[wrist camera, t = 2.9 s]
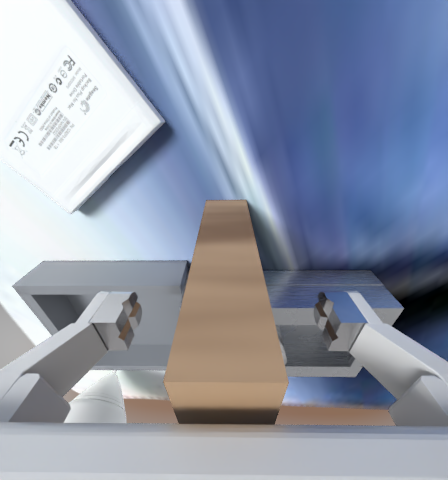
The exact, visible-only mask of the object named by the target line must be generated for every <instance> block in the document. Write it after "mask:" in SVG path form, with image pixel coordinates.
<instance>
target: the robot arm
mask: <svg viewBox="0 0 448 480" xmlns="http://www.w3.org/2000/svg"><path fill="white" fill-rule="evenodd" d="M317 298H318V300H319V302H318V303H316V304H315V306H314V318H315V322H316V324H317V326H318V327H319V328H320V329H321V330H323V332H322V338H323V340H324V342H325V345H326V347H327V349H328V351H349V353H350V354H351V355H352V356H353V357H354V358H355V359H356V360H357V361H358V362H359V363H360V364H361V365H362V366H363V367H364V368H366V369H367V370H368V371H369V372H370V373H371V374H372V375H373V376H374V377H375V378H376V379H377V380H378V381H379V382H380V383H381V384H382V385H383V386H384V387H385V388H386V389H387V390H388V391H389V392H390V393H391V394H392V395H393V396H394V397H395V398H396V399H397V401H396V402H395V403H394V404H393V405H392V406H391V407H390V408H389V411H388V412H389V413H390V415H391V417H392V419H393V421H394V423H395V424H396V426H354V425H351V426H350V425H348V426H347V425H253V424H147V423H144V424H143V423H64V421H65V419H66V417H67V415H68V414H69V412H70V410H71V407H70V404H69V403H68V402H67V401H66V400H64V398H63V396H64V395H65V394H66V393H67V392H68V391H69V390H70V389H71V388H72V387H73V386H74V385H75V384H76V383H77V382H78V381H79V380H80V379H81V378H82V377H83V376H84V375H85V374H86V373H87V372H88V371H89V370H90V369H91V368H92V367H93V366H94V365H95V364H96V363H97V362H98V361H99V360H100V359H101V358H102V357H103V356H104V355H106V354H107V353H108V351H118V350H129V347H130V345H131V343H132V340H133V338H134V336H135V335H134V332H133V330H134V329H136V328H137V327H138V326H139V324H140V321H141V317H142V308H141V305H140V304H139V303H138V302H136V301H137V299H138V296H137V294H136V292H114V291H112V292H106V291H101V292H99V293H97V294H96V296H95V297H94V298H93V300H92V301H91V302H90V304H89V305H88V306H87V308H86V309H85V311H84V312H83V313H82V315H81V316H80V317H79V319H78V320H77V321H76V323H71V324H70V325H68V326H67V327H65V328H63V329H62V330H60V331H59V332H57V333H56V334H54V335H53V336H51V337H49V338H48V339H46V340H45V341H43V342H42V343H40V344H39V345H37V346H36V347H34V348H32V349H31V350H30V351H28V352H27V353H25V354H23V355H22V356H20V357H19V358H17V359H15V360H14V361H12V362H11V363H9V364H8V365H6V366H5V367H3V368H2V369H0V480H448V362H447V361H446V360H444V359H442V358H441V357H439V356H438V355H436V354H435V353H433V352H431V351H430V350H428V349H427V348H425V347H423V346H422V345H420V344H419V343H417V342H416V341H414V340H412V339H411V338H409V337H408V336H406V335H404V334H403V333H401V332H400V331H398V330H396V329H395V328H393V327H392V326H390V325H389V324H384V323H382V321H381V320H380V319H379V317H378V316H377V315H376V313H375V312H374V311H373V310H372V308H371V307H370V306H369V304H368V303H367V302H366V300H365V299H364V298H363V297H362V295H361V294H360V293H359V292H357V291H321V292H320V293H319V294H318V297H317Z"/></svg>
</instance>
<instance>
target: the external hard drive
mask: <svg viewBox="0 0 448 480" xmlns="http://www.w3.org/2000/svg"><path fill="white" fill-rule="evenodd" d="M164 123H165V120H164V119H163V118H162V116H161V115H160V114H159V112H158V111H157V110H156V108H155V107H154V106H153V105H152V103H151V102H150V101H149V100H148V99H147V97H146V96H145V94H144V93H143V92H142V90H141V89H140V88H139V87H138V85H137V84H136V83H135V82H134V80H133V79H132V78H131V76H130V75H129V74H128V73H127V71H126V70H125V69H124V67H123V66H122V65H121V64H120V62H119V61H118V60H117V58H116V57H115V56H114V55H113V53H112V52H111V51H110V50H109V48H108V47H107V46H106V44H105V43H104V42H103V41H102V39H101V38H100V37H99V36H98V34H97V33H96V32H95V30H94V29H93V28H92V26H91V25H90V24H89V23H88V21H87V20H86V19H85V17H84V16H83V15H82V14H81V12H80V11H79V10H78V8H77V7H76V6H75V5H74V3H73V2H72V1H71V0H0V160H1V161H3V162H4V163H5V164H6V165H8V166H9V167H10V168H12V169H13V170H14V171H15V172H17V173H18V174H19V175H21V176H22V177H23V178H24V179H26V180H27V181H28V182H30V183H31V184H32V185H34V186H35V187H36V188H37V189H39V190H40V191H41V192H43V193H44V194H45V195H46V196H48V197H49V198H50V199H52V200H53V201H54V202H55V203H56V204H58V205H59V206H60V207H62V208H63V209H64V210H65V211H67V212H68V213H69V214H72V213H73V212H75V211H77V210H78V209H79V208H80V207H81V206H82V205H83V204H84V203H85V202H86V201H87V200H88V199H89V198H90V197H91V196H92V195H93V194H94V193H95V192H96V191H97V190H98V189H99V188H100V187H101V186H102V185H103V184H104V183H105V182H106V181H107V180H108V179H109V177H110V176H111V175H112V174H113V173H114V172H115V171H116V170H117V169H118V168H119V167H120V166H121V165H122V164H123V163H124V162H126V161H127V160H128V159H129V158H130V157H131V156H132V155H133V154H134V153H135V152H136V151H137V150H138V149H139V148H140V147H141V146H142V145H143V144H144V143H145V142H146V141H147V140H148V139H149V138H150V137H151V136H152V135H153V134H154V133H155V132H156V131H157V130H158V129H159V128H160V127H161V126H162V125H163V124H164Z"/></svg>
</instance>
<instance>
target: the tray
mask: <svg viewBox="0 0 448 480" xmlns="http://www.w3.org/2000/svg"><path fill="white" fill-rule="evenodd" d="M187 274H188V265H187V261H43V262H41V263H40V264H39V265H38V266H36V267H35V268H34V269H33V270H31V271H30V272H29V273H28V274H26V275H25V276H24V277H23V278H21V279H20V280H19V281H18V282H16V283H15V284H14V285H13V286H12V287H13V288H14V289H15V290H16V292H17V293H18V294H19V295H20V296H21V298H22V299H23V300H24V301H25V303H26V304H27V305H28V306H29V308H30V309H31V310H32V311H33V313H34V314H35V315H36V316H37V318H38V319H39V320H40V321H41V323H42V324H43V325H44V326H45V327H46V329H47V330H48V331H49V332H50V334H51V335H52V336H53V335H54V334H56V333H57V332H59V331H60V330H62V329H63V328H65V327H67V326H68V325H70V324H71V323H76V321H77V320H78V319H79V317H80V316H81V315H82V313H83V312H84V311H85V309H86V308H87V306H88V305H89V304H90V302H91V301H92V300H93V298H94V297H95V296H96V294H97V293H99V292H101V291H106V292H112V291H114V292H136V294H137V296H138V299H137V301H136V302H138V303H139V304H140V305H141V308H142V317H141V321H140V324H139V326H138V327H137V328H136V329H134V330H133V332H134V335H135V336H134V338H133V340H132V343H131V345H130V347H129V350H118V351H108V353H107V354H106V355H104V356H103V357H102V358H101V359H100V360H99V361H98V362H97V363H96V364H95V365H94V366H93V367H92V368H91V369H90V370H166V368H167V364H168V360H169V355H170V351H171V347H172V343H173V338H174V334H175V330H176V326H177V322H178V317H179V313H180V309H179V308H180V304H181V299H182V295H183V291H184V287H185V282H186V278H187Z"/></svg>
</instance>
